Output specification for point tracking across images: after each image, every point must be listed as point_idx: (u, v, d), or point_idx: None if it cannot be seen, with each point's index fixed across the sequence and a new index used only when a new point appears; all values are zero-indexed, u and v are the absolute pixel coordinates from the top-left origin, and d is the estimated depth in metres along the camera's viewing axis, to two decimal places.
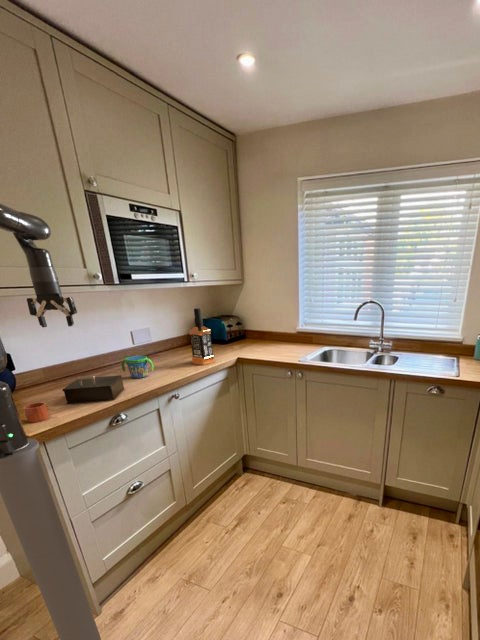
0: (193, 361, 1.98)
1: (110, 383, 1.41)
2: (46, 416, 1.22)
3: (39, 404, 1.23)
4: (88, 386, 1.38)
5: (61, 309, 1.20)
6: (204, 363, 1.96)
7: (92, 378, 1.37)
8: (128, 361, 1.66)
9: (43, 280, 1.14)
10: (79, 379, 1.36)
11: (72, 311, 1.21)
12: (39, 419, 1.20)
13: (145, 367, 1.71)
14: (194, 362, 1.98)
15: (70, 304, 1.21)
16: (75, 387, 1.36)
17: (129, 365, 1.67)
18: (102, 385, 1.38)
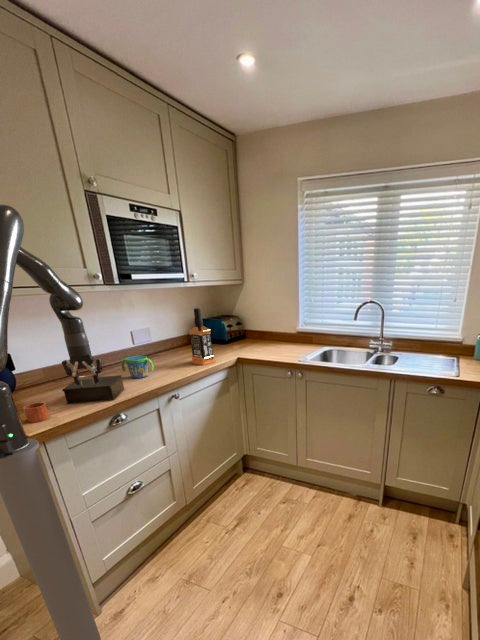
0: (193, 361, 1.98)
1: (110, 383, 1.41)
2: (46, 416, 1.22)
3: (39, 404, 1.23)
4: (88, 386, 1.38)
5: (90, 369, 1.34)
6: (204, 363, 1.96)
7: (92, 378, 1.37)
8: (128, 361, 1.66)
9: (76, 345, 1.29)
10: (79, 379, 1.36)
11: (98, 371, 1.36)
12: (39, 419, 1.20)
13: (145, 367, 1.71)
14: (194, 362, 1.98)
15: (98, 365, 1.35)
16: (75, 387, 1.36)
17: (129, 365, 1.67)
18: (102, 385, 1.38)
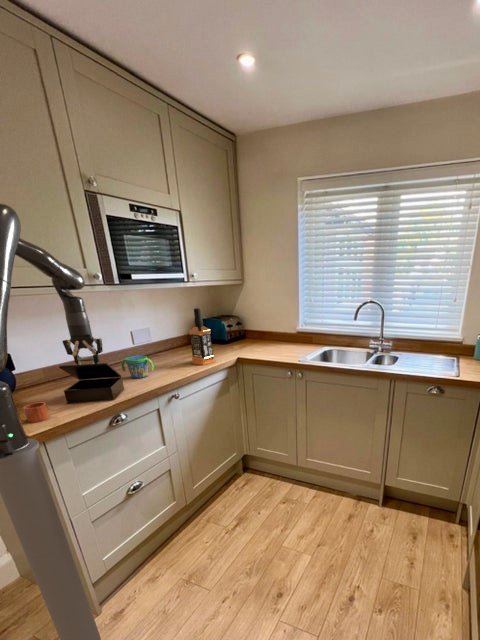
0: (193, 361, 1.98)
1: None
2: (46, 416, 1.22)
3: (39, 404, 1.23)
4: None
5: (90, 349, 1.36)
6: (204, 363, 1.96)
7: (92, 357, 1.38)
8: (128, 361, 1.66)
9: (77, 324, 1.31)
10: (79, 358, 1.37)
11: (98, 350, 1.38)
12: (39, 419, 1.20)
13: (145, 367, 1.71)
14: (194, 362, 1.98)
15: (98, 345, 1.37)
16: None
17: (129, 365, 1.67)
18: None
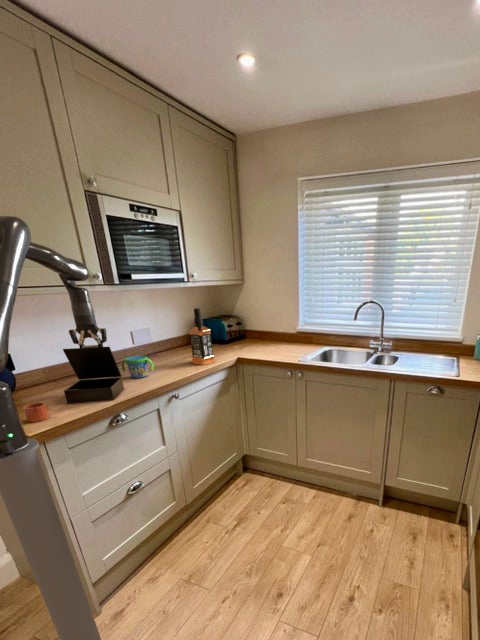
0: (193, 361, 1.98)
1: None
2: (46, 416, 1.22)
3: (39, 404, 1.23)
4: None
5: (95, 338, 1.42)
6: (204, 363, 1.96)
7: (96, 345, 1.44)
8: (128, 361, 1.66)
9: (83, 314, 1.37)
10: (84, 346, 1.43)
11: (103, 340, 1.44)
12: (39, 419, 1.20)
13: (145, 367, 1.71)
14: (194, 362, 1.98)
15: (103, 334, 1.43)
16: None
17: (129, 365, 1.67)
18: None
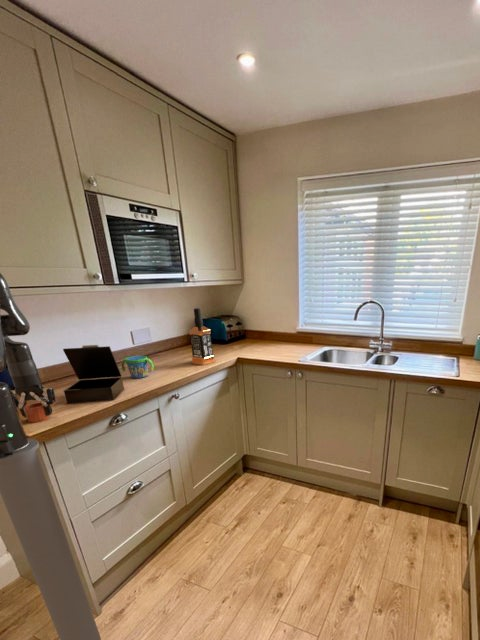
0: (193, 361, 1.98)
1: None
2: (47, 416, 1.22)
3: (39, 404, 1.23)
4: None
5: (40, 400, 1.19)
6: (204, 363, 1.96)
7: (96, 345, 1.44)
8: (128, 361, 1.66)
9: (21, 375, 1.13)
10: (84, 346, 1.43)
11: (50, 401, 1.20)
12: (39, 419, 1.20)
13: (145, 367, 1.71)
14: (194, 362, 1.98)
15: (49, 395, 1.20)
16: None
17: (129, 365, 1.67)
18: None
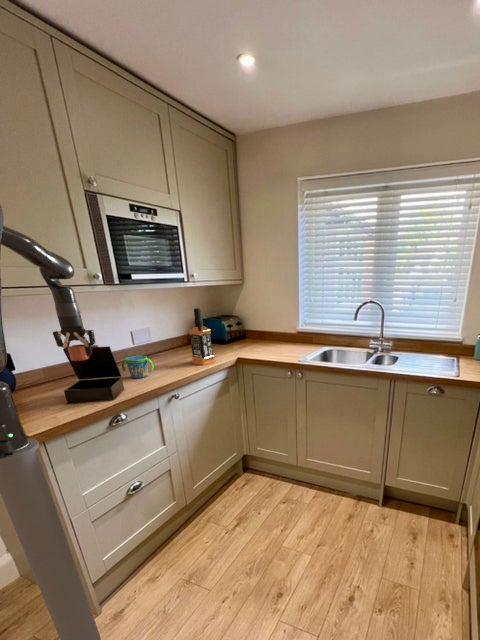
0: (193, 361, 1.98)
1: None
2: (87, 356, 1.35)
3: (80, 346, 1.36)
4: None
5: (82, 340, 1.32)
6: (204, 363, 1.96)
7: (96, 345, 1.44)
8: (128, 361, 1.66)
9: (67, 315, 1.26)
10: None
11: (91, 342, 1.33)
12: (81, 358, 1.33)
13: (145, 367, 1.71)
14: (194, 362, 1.98)
15: (90, 336, 1.32)
16: None
17: (129, 365, 1.67)
18: None
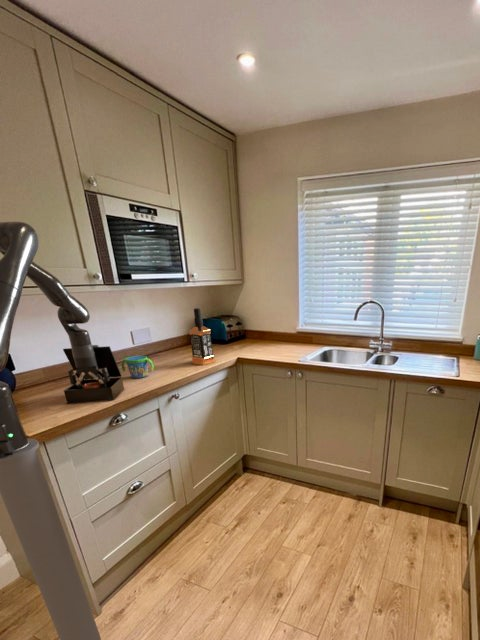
0: (193, 361, 1.98)
1: None
2: None
3: (94, 384, 1.44)
4: None
5: (97, 378, 1.39)
6: (204, 363, 1.96)
7: (96, 345, 1.44)
8: (128, 361, 1.66)
9: (83, 357, 1.34)
10: None
11: (106, 379, 1.41)
12: None
13: (145, 367, 1.71)
14: (194, 362, 1.98)
15: (105, 374, 1.40)
16: None
17: (129, 365, 1.67)
18: None
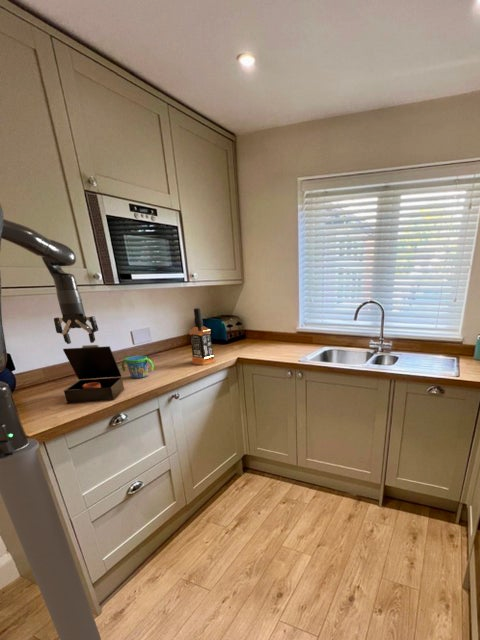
0: (193, 361, 1.98)
1: None
2: None
3: (94, 384, 1.44)
4: None
5: (84, 327, 1.32)
6: (204, 363, 1.96)
7: (96, 345, 1.44)
8: (128, 361, 1.66)
9: (69, 302, 1.26)
10: (84, 346, 1.43)
11: (94, 329, 1.33)
12: None
13: (145, 367, 1.71)
14: (194, 362, 1.98)
15: (92, 323, 1.32)
16: None
17: (129, 365, 1.67)
18: None
